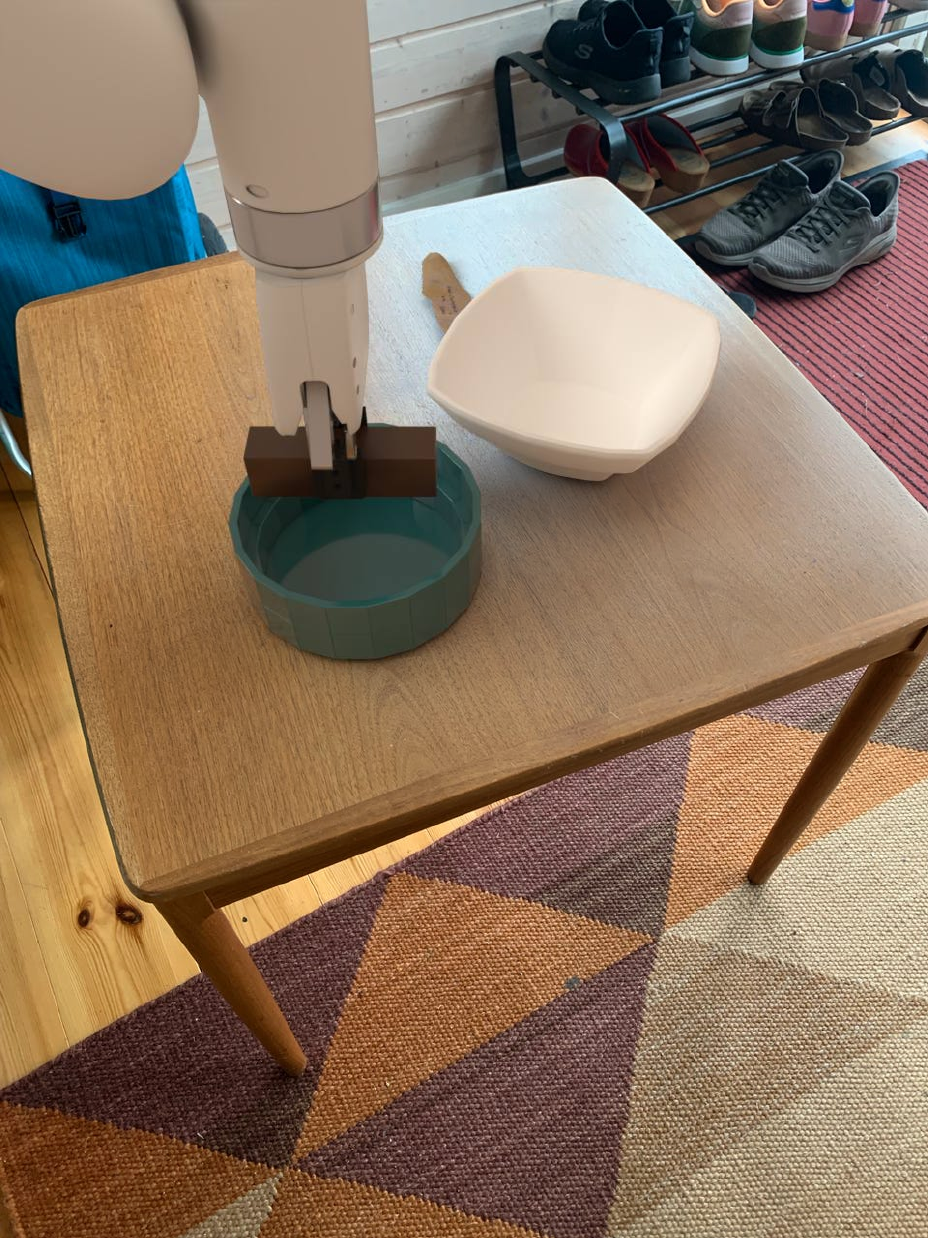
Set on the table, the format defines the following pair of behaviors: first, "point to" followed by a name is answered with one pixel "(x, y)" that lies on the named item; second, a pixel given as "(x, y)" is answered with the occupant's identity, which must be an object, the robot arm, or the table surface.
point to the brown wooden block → (389, 455)
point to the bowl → (576, 369)
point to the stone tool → (443, 290)
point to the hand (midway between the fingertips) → (344, 473)
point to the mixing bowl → (361, 564)
